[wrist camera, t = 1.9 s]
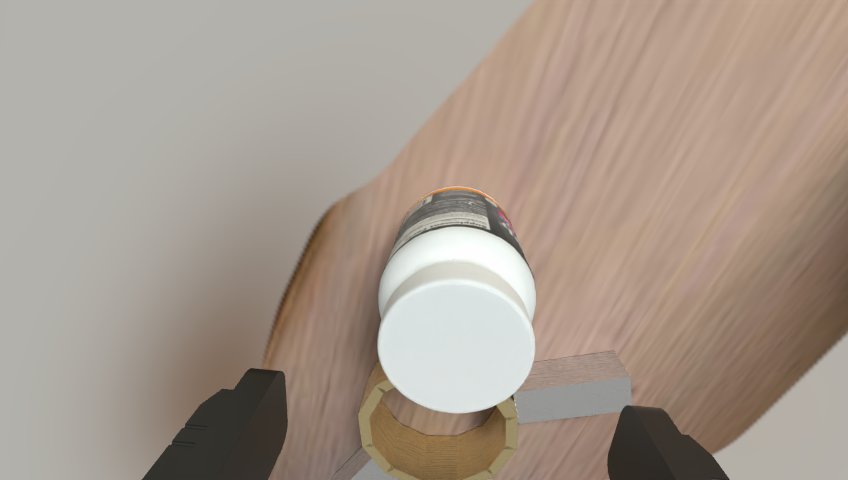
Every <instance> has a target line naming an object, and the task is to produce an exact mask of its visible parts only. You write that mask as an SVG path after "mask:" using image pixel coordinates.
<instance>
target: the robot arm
mask: <svg viewBox="0 0 848 480" xmlns="http://www.w3.org/2000/svg"><path fill="white" fill-rule="evenodd" d="M287 423H288V419H287V402H286V385H285V375H284V373H283V372H282V371H275V370H265V369H254V368H251V369H249V370H248V371H247V372H246V373H245V374H244V376H243V377H242V378H241V380H240V382H239V383H238V384H237V386H236V387H235V389H234V390H228V389H221V390H220V391H219V392H217V393H216V394H215V395H213V396H212V397H210V398H209V399H208V400H206V401H205V402H203V403H202V404H201V405H200V406H199V407H198V409H197V410H196V411H195V412H194V414H193V415H192V416H191V418H190V419H189V420H188V421H187V423H186V424H185V428H182V429H181V430H180V432H179V433H178V434H177V435H176V437H175V438H174V439H173V441H172V444H171V445H169V446H168V447H167V448H166V449H165V451H164V452H163V454H162V455H161V456H160V457H159V459H158V460H157V461H156V462H155V464H154V465H153V466H152V467H151V469H150V470H149V471H148V473H147V474H146V475H145V476H144V478H143V479H142V480H268V478H269V476H270V474H271V471H272V469H273V467H274V465H275V463H276V461H277V458H278V456H279V454H280V452H281V450H282V447H283V444H284V441H285V437H286V432H287ZM608 473H609V478H610V480H729V478H728V477H727V475H726V474H725V473H724V471H723V470H722V468H721V467H720V466H719V464H718V463H717V462H716V460H715V459H714V457H713V456H712V455H711V454H710V453H709V452H707V451H706V450H705V449H704V448H703V447H702V446H701V445H699V444H698V443H697V442H696V441H695V440H694V439H693V438H691V437H690V436H689V435H682V434H681V433H680V432H679V430H678V429H677V427H676V426H675V424H674V423H673V421H672V420H671V418H670V417H669V415H668V414H667V413H666V412H665V411H664V410H663V409H661V408H653V407H642V406H632V405H626V406H625V407H624V408H623V409H622V411H621V414H620V418H619V421H618V424H617V427H616V431H615V434H614V437H613V440H612V443H611V447H610V450H609V453H608Z"/></svg>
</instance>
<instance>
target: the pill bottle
mask: <svg viewBox="0 0 848 480" xmlns="http://www.w3.org/2000/svg"><path fill="white" fill-rule="evenodd" d="M378 304H379V312H380V316H381V324H380V327H379V332H378V341H377V349H378V356H379V360H380V363H381V366H382V368H383V371H384V372H385V374H386V376H387V377H388V379H389V381H390V382H391V383H392V384H393V385H394V387H395V388H396V389H397V390H398V391H399V392H400V393H402V394H403V395H404V396H406V397H407V398H408V399H410V400H411V401H413V402H415V403H417V404H419V405H421V406H423V407H426V408H429V409H432V410H435V411H440V412H447V413H470V412H476V411H481V410H484V409H488V408H490V407H493V406H495V405H497V404H499V403H501V402H502V401H504V400H506V399H507V398H509V397H510V396H511V395H513V394H514V393H515V392H516V391H517V390H518V389H519V388H520V386H521V385H522V384H523V383H524V381H525V380H526V378H527V376H528V375H529V372H530V370H531V367H532V364H533V361H534V356H535V338H534V332H533V328H532V324H531V322H532V320H533V316H534V312H535V306H536V290H535V281H534V277H533V274H532V272H531V269H530V267H529V265H528V263H527V261H526V259H525V257H524V254H523V252H522V249H521V246H520V244H519V242H518V239H517V237H516V234H515V232H514V230H513V228H512V225H511V223H510V221H509V219H508V217H507V215H506V213H505V212H504V210H503V209H502V207H501V206H500V205H499V204H498V203H497V202H496V201H495V200H494V199H492V198H491V197H490V196H488V195H487V194H485V193H483V192H481V191H479V190H476V189H473V188H469V187H461V186H452V187H446V188H441V189H438V190H435V191H433V192H431V193H429V194H427V195H426V196H424V197H423V198H421V199H420V200H419V201H418V202H417V203H416V204H415V205H414V206H413V207H412V208H411V210H410V211H409V213H408V214H407V216H406V217H405V219H404V222H403V224H402V226H401V229H400V231H399V234H398V236H397V239H396V242H395V244H394V247H393V250H392V252H391V254H390V257H389V259H388V262H387V264H386V267H385V269H384V271H383V274H382V277H381V280H380V285H379V294H378Z"/></svg>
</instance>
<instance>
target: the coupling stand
mask: <svg viewBox="0 0 848 480" xmlns="http://www.w3.org/2000/svg"><path fill="white" fill-rule="evenodd" d="M393 388H395V387H394V385H393V384H392V383H391V382H390V381H389V379H388V377H387V376H386V374H385V372H384V371H383V368H382V366H381V363H380V360H378V361H377V363H376V365H375V367H374V368H373V370H372V372H371V374H370V376H369V379H368V382H367V386H366V389H365V393H364V396H363V400H362V403H361V406H360V410H359V413H358V419H359V427H360V434H361V441H362V447H361V448H360V449H359V450H358V451H357V452H356V453H355V454H354V455H353V456H352V457H351V458H350V459H349V460H348V461H347V462H346V463H345V464H344V465H343V466H342V467H341V468H340V469H339V470H338V471H337V472H336V473H335V474H334V478H333V480H399V479H400V480H486V479H489V478H491V477H494V476H496V474H497V473H498V472H499V471H500V470H501V468H502V467H503V466H504V465H505V464H506V462H507V461H508V460H509V459H510V457H511V456H512V455H513V454H514V453H515V451H516V450H517V431H518V423H519V424H523V423H532V422H540V421H548V420H557V419H565V418H573V417H582V416H590V415H598V414H607V413H615V412H621V411H622V409H623V408H624V407H625V406H626V405H632V394H631V380H630V376H629V374H628V372H627V371H626V369H625V367H624V366H623V364H622V362H621V361H620V359H619V357H618V356H617V354H616V353H615V351H609V352H602V353H595V354H588V355H581V356H574V357H567V358H560V359H553V360H546V361H539V362H533V364H532V367H531V370H530V372H529V375H528V376H527V378H526V380H525V381H524V383H523V384H522V385H521V386H520V388H519V389H518V390H517V391H516V392H515V393H514V394H513V395H511V396H510V397H509V398H507V399H506V400H504V401H502V402H501V403H499V404H497V405H496V406H497V407H496V409H495V410H494V411H493V413H492V414H491V415H490V417H489V418H488V419H487V421H486V422H485V423H484V424H483V425H482V426H479V427H477V428H475V429H472V430H470V431H468V432H465V433H463V434H461V435H458V436H426V435H424V434H422V433H419V432H417V431H415V430H413V429H410V428H408V427H406V426H404V425H401V424H399V422H398V421H397V420H396V419H395V417H394V416H393V415H392V414H391V413H390V411H389V410H388V409H387V408H386V406H385V405H384V404H383V403H382V396H383V394H384V392H387V391H389V390H391V389H393Z"/></svg>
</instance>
